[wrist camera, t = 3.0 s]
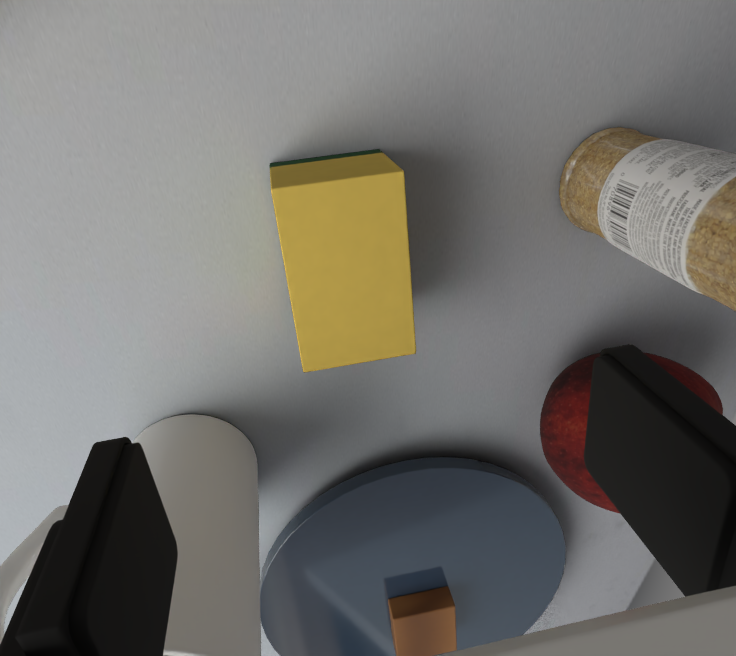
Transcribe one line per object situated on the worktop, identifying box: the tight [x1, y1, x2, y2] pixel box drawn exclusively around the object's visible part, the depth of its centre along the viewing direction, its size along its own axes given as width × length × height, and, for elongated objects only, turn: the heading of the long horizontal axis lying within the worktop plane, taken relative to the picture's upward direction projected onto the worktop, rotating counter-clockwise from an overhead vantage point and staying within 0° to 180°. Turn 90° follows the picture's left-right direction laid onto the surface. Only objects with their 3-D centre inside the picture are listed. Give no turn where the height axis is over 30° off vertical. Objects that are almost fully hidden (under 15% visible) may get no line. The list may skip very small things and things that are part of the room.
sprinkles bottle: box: [559, 127, 736, 311], centre depth 19 cm, size 5×5×13 cm
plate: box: [260, 457, 566, 656], centre depth 33 cm, size 18×18×2 cm
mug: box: [0, 414, 261, 656], centre depth 22 cm, size 10×7×12 cm, turn 85°
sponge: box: [270, 149, 416, 372], centre depth 22 cm, size 7×4×4 cm, turn 6°
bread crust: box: [388, 586, 457, 656], centre depth 33 cm, size 4×4×1 cm
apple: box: [540, 352, 723, 513], centre depth 26 cm, size 7×8×8 cm
